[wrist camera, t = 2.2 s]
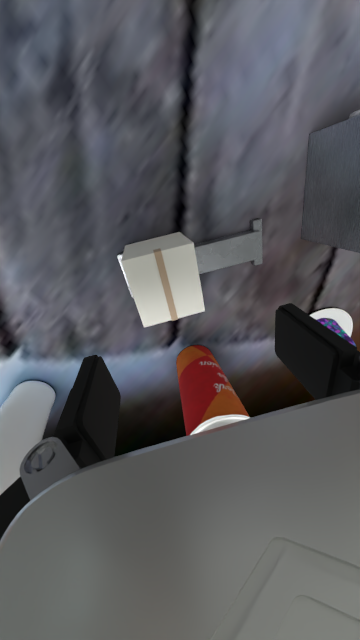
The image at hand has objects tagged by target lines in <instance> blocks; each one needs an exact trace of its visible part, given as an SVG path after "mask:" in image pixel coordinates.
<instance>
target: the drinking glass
mask: <svg viewBox="0 0 360 640" xmlns="http://www.w3.org/2000/svg"><path fill="white" fill-rule="evenodd" d="M54 401H55V392H54V390H53V388H52V387H51V386H49V385H48V384H46V383H44V382H40V381H26V382H23V383H20V384H19V385H17V386H16V387H15V388H14V389H13V391H12V392H11V394H10V395H9V397H8V398H7V400H6V401H5V402H4V403H3V405H2V406H1V407H0V495H1V494H2V493H3V492H4V491H5V490H6V489H7V488H8V487H9V486H10V485H12V484H13V483H14V482H15V481H16V480H17V479H18V478H19V477H20V470H19V469H20V465H21V462H22V461H23V459H24V457H25V456H26V454H27V453H28V452H29V450H31V449H32V448H33V447H34V446H35V445H36V444H38V443H39V442H40V441H42V437H43V434H44V431H45V427H46V424H47V421H48V418H49V414H50V411H51V408H52V406H53V403H54Z"/></svg>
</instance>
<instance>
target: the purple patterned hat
mask: <svg viewBox="0 0 360 640" xmlns="http://www.w3.org/2000/svg"><path fill="white" fill-rule="evenodd" d="M310 316H311V317H313V318H314V319H318V320H317V321H319V322H320V323H321V324H323V325H324V326H326V327H327V328H329V329H330V330H332V331H333V332H335V333H336V334H338V335H339V336H341V337H342V338H344V339H345V340H347V341H348V342H350V343H351V344H353V345H354V346H356V345H355V343H354V342H353V340H352V339H351V338H350V336H351V333H352V328H353V323H352V319H351V317H350V315H349V314H348V313H347V312H345V311H344V310H341V309H336V308H329V309H324V310H320V311H317V312H315V313H313V314H311V315H310ZM320 318H321V319H320ZM325 318H331V319H334V320H335V321H334V320H329V321H327V320H326V319H325Z"/></svg>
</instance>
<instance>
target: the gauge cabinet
mask: <svg viewBox="0 0 360 640" xmlns="http://www.w3.org/2000/svg"><path fill="white" fill-rule="evenodd" d="M301 239H304V240H308V241H312V242H316V243H320V244H325V245H329V246H333V247H337V248H341V249H345V250H350V251H354V252H358V253H360V110H357V111H355V112H353V113H351V114H350V117H349V119H348V120H345V121H343V122H340V123H337V124H335V125H332V126H329V127H327V128H324V129H322V130H319V131H316V132H314V133H311V134H309V146H308V158H307V171H306V183H305V195H304V208H303V220H302V233H301Z"/></svg>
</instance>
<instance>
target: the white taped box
mask: <svg viewBox="0 0 360 640" xmlns="http://www.w3.org/2000/svg"><path fill="white" fill-rule="evenodd" d="M121 263H122V266H123V269H124V271H125V274H126V277H127V280H128V283H129V286H130V289H131V291H132V294H133V297H134V300H135V303H136V306H137V309H138V311H139V314H140V317H141V320H142V323H143V326H144V327H148V326H151V325H155V324H159V323H163V322H166V321H170V320H172V321H174V320H177V319H178V318H181V317H185V316H189V315H192V314H196V313H200V312H203V311H205V308H204V302H203V296H202V290H201V284H200V278H199V272H198V266H197V260H196V254H195V248H194V243H193V242H192V241H191V240H189V239H188V238H187V237H185V236H184V235H183V234H182V233H180V232H177V233H173V234H169V235H165V236H161V237H157V238H153V239H149V240H145V241H141V242H137V243H133V244H129V245H125V248H124V252H123V256H122V259H121Z"/></svg>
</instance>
